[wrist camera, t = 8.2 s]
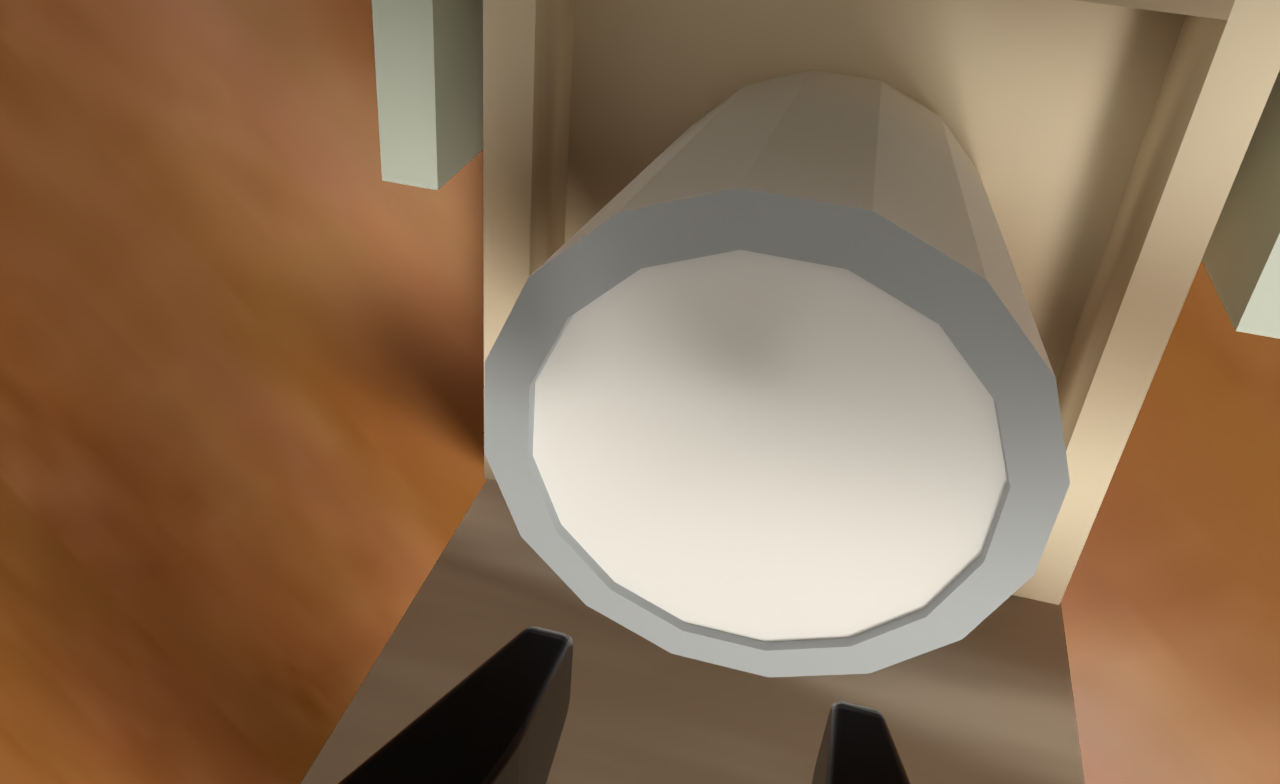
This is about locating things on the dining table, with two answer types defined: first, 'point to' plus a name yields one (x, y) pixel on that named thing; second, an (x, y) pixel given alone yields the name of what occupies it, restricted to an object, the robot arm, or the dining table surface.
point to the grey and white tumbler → (785, 391)
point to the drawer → (1045, 265)
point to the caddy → (453, 135)
